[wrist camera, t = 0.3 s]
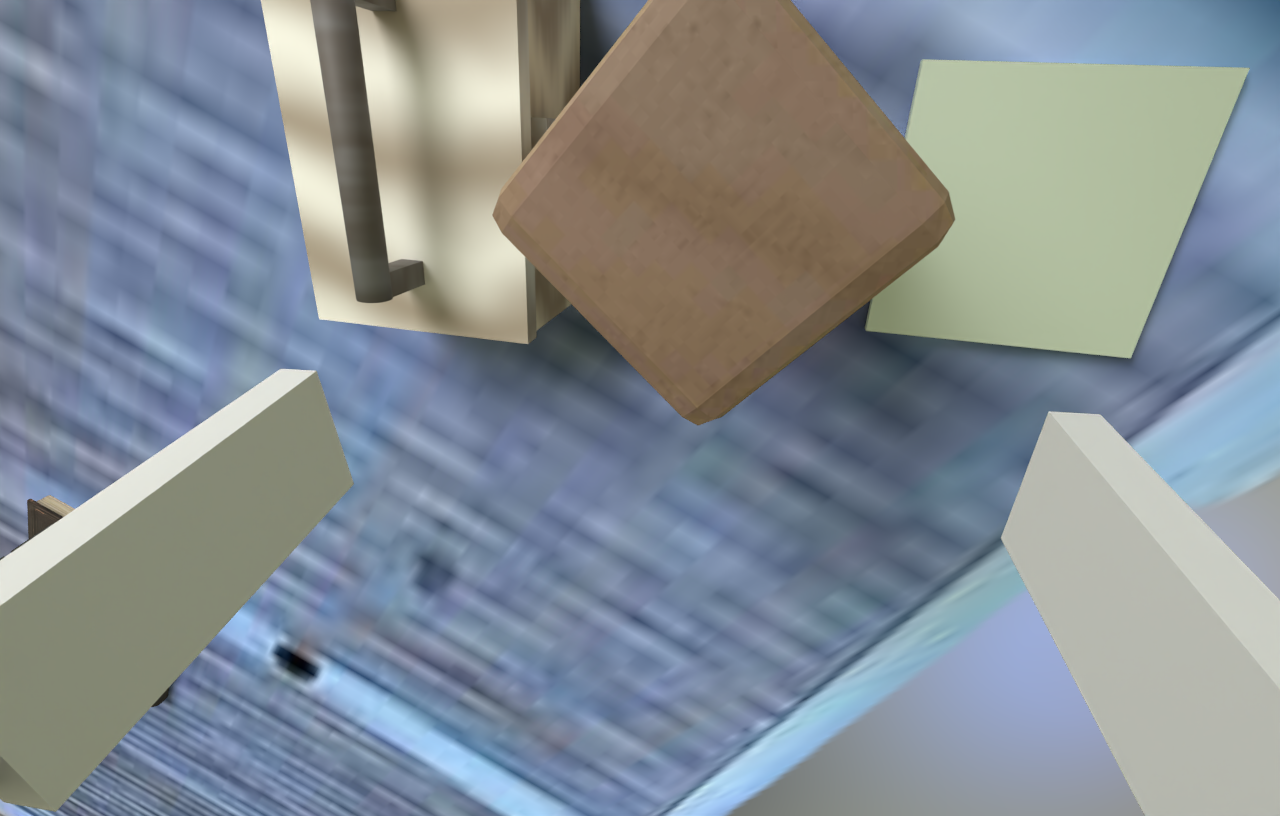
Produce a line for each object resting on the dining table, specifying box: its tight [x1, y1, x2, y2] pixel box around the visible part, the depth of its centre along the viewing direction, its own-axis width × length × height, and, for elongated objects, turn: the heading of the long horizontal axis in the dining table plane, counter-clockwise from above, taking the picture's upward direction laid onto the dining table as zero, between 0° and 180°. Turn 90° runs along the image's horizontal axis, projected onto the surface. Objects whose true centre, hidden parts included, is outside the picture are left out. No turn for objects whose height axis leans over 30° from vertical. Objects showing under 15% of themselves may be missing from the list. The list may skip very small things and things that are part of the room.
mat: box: [865, 60, 1250, 358], centre depth 32 cm, size 14×14×1 cm
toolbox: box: [261, 0, 580, 344], centre depth 31 cm, size 18×13×13 cm
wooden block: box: [492, 0, 955, 425], centre depth 25 cm, size 10×10×20 cm
